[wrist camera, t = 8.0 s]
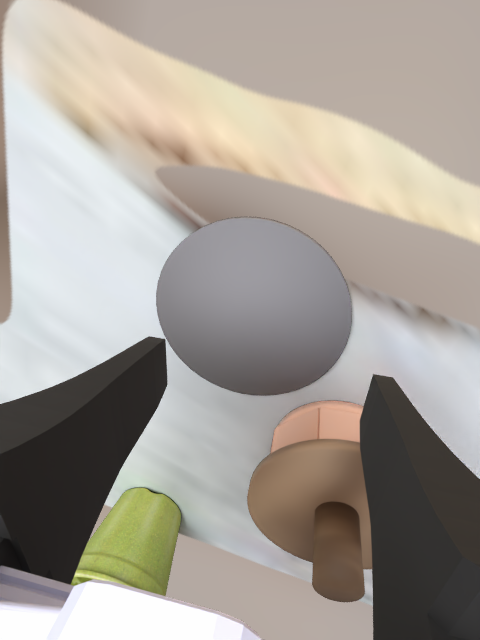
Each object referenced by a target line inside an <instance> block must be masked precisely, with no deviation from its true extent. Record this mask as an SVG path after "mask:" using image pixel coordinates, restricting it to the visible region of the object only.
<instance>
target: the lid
mask: <svg viewBox="0 0 480 640" xmlns="http://www.w3.org/2000/svg"><path fill="white" fill-rule="evenodd" d="M247 502H248V509H249V512H250V515H251V517H252V519H253V521H254V523H255V524H256V526H257V527H258V528H259V530H260V531H261V532H262V533H263V534H264V535H265V536H266V537H267V538H268V539H269V540H270V541H272V542H273V543H274V544H276V545H277V546H279V547H280V548H282V549H283V550H285V551H287V552H289V553H291V554H292V555H294V556H297V557H299V558H301V559H304V560H307V561H310V562H313V577H312V585H313V588H314V589H315V591H316V592H317V593H318V594H320V595H322V596H323V597H325V598H327V599H330V600H334V601H339V602H353V601H357V600H359V599H361V598H362V597H363V596H364V594H365V588H364V574H363V569H372V545H371V525H370V515H369V508H368V501H367V494H366V487H365V480H364V473H363V466H362V459H361V452H360V443H359V442H355V441H349V440H341V439H314V440H307V441H301V442H297V443H293V444H290V445H287V446H285V447H282V448H280V449H278V450H276V451H274V452H273V453H271V454H269V455H268V456H267V457H266V458H264V459H263V460H262V461H261V462H260V463H259V465H258V466H257V467H256V469H255V471H254V472H253V475H252V477H251V480H250V485H249V490H248V496H247Z"/></svg>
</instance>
